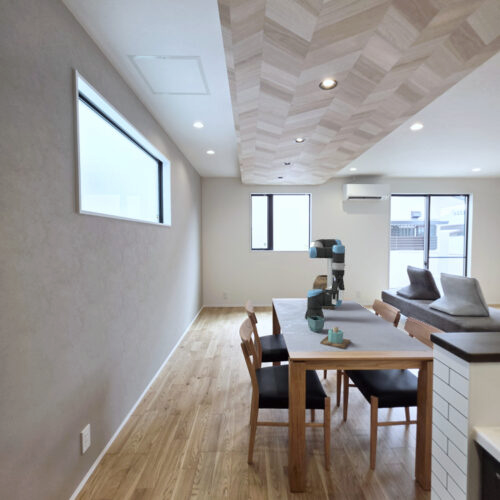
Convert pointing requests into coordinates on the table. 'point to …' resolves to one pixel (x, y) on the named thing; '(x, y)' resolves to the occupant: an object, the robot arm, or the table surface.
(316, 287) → the vase
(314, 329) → the flower pot
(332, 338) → the ring
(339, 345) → the post stand
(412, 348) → the table surface
